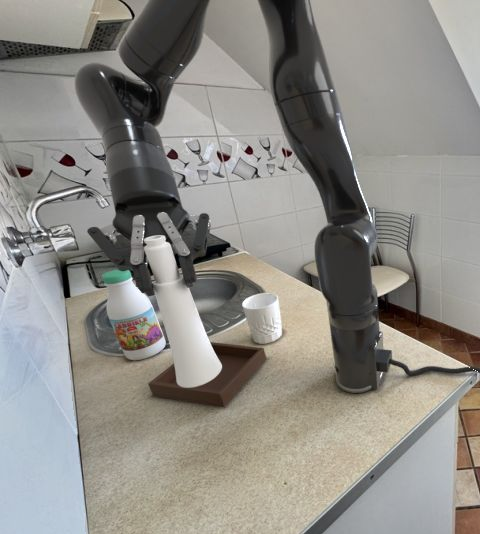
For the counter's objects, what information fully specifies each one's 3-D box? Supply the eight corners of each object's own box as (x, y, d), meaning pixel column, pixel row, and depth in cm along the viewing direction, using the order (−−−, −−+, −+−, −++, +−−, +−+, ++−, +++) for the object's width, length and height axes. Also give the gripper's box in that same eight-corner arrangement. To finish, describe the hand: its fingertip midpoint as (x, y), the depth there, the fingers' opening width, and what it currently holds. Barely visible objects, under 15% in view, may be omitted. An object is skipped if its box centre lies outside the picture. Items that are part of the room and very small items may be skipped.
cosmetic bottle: (186, 363, 52) (140, 232, 43) (227, 358, 53) (190, 229, 44) (169, 391, 46) (112, 247, 37) (214, 384, 47) (169, 243, 39)
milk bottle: (123, 350, 75) (89, 272, 67) (163, 336, 80) (135, 262, 72) (128, 366, 70) (91, 283, 62) (170, 350, 75) (141, 272, 67)
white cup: (273, 347, 75) (265, 310, 71) (243, 343, 77) (234, 307, 73) (290, 328, 82) (284, 294, 79) (263, 325, 84) (255, 291, 80)
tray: (266, 359, 71) (263, 347, 70) (224, 407, 59) (220, 394, 58) (205, 352, 74) (202, 340, 73) (153, 396, 62) (147, 383, 61)
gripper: (64, 168, 39) (85, 294, 35) (197, 161, 47) (228, 264, 42) (89, 204, 46) (110, 315, 41) (203, 193, 53) (231, 286, 48)
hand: (170, 288), depth 42 cm, fingers closed on cosmetic bottle, 3 cm apart
